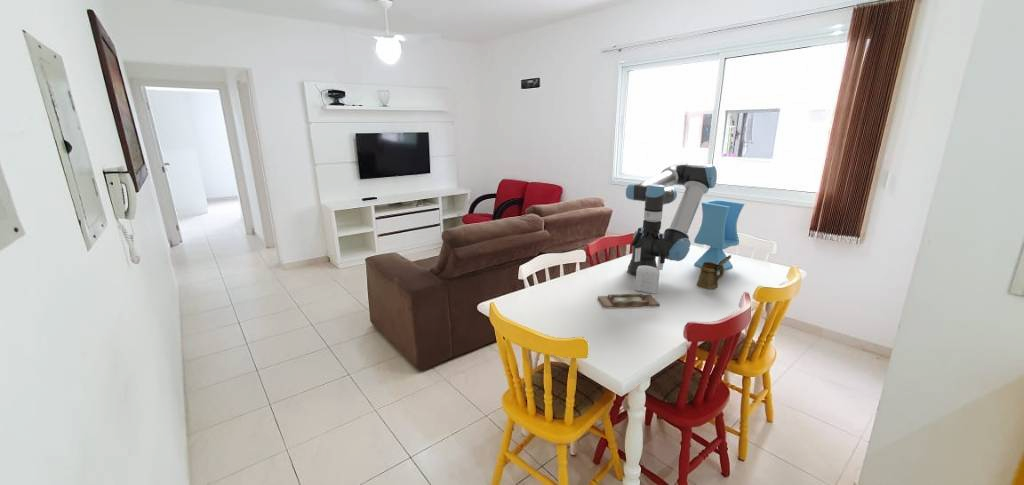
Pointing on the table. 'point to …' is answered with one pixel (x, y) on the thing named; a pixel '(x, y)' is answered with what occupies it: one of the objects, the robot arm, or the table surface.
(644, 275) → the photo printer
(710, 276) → the wooden mug
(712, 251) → the planter
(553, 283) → the table surface
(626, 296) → the brown flat rectangular piece
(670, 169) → the robot arm
